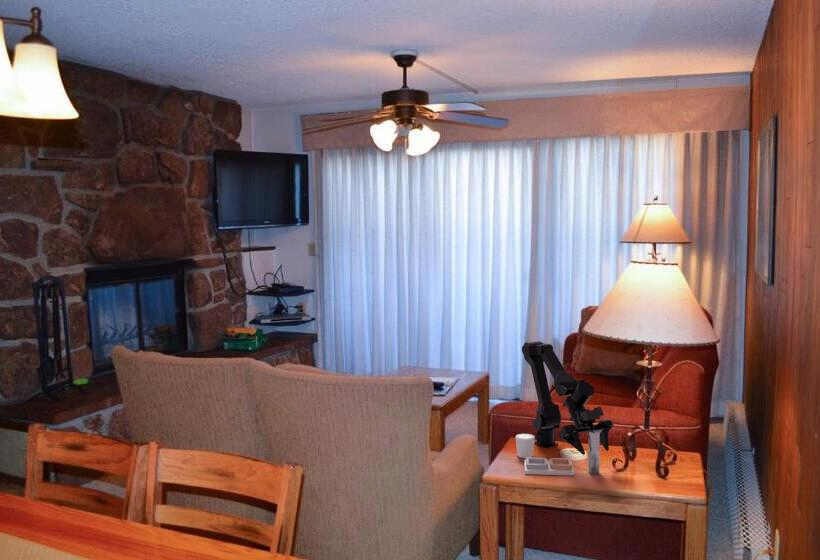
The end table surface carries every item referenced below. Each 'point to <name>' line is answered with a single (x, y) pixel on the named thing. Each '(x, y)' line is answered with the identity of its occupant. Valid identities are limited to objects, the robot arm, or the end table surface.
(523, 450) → the white cup
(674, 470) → the end table surface
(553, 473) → the grey compartment tray
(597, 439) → the steel pin
